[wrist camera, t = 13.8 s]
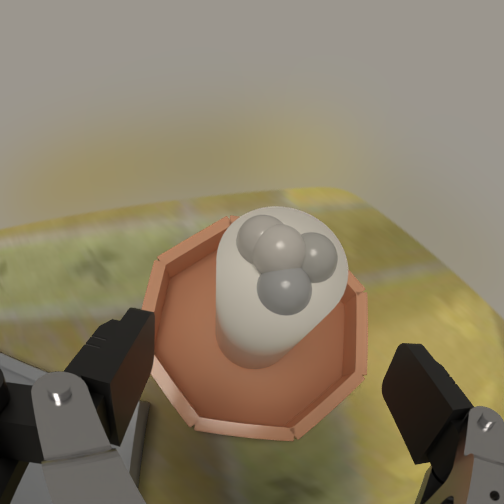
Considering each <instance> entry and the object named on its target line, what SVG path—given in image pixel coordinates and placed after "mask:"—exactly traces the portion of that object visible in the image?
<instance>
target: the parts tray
mask: <svg viewBox="0 0 504 504" xmlns="http://www.w3.org/2000/svg"><path fill="white" fill-rule="evenodd" d="M0 369H1V370H2V372H3V375H4V378H5V381H6V382H10V383H17V384H25V385H33V384H34V383H35V381H36V380H37V379H38V378H40V377H41V376H43V375H45V374H48V373H49V372H47V371H44V370H41V369H39V368H36V367H34V366H31V365H29V364H26V363H24V362H22V361H19V360H17V359H15V358H12V357H10V356H8V355H6V354H3V353H1V352H0ZM149 406H150V403H149V402H144V401H140V400H139V402H138V404H137V406H136V409H135V411H134V414H133V416H132V419H131V421H130V423H129V426H128V428H127V431H126V433H125V436H124V438H123V441H122V443H121V446H120V447H119V446H115V445H112V444H110V445H111V447H112V448H116V450H117V451H118V453H119V455H120V456H121V458H122V460H123V462H124V464H125V466H126V468H127V470H128V472H129V474H130V476H131V478H132V479H133V481H134V483H135V485H136V487H137V488H138V484H139V476H140V467H141V460H142V452H143V445H144V438H145V431H146V425H147V418H148V412H149ZM10 504H53V503H52V500H51V497H50V494H49V491H48V488H47V484H46V481H45V477H44V474H43V470H42V464H37V463H31V462H29V464H28V466H27V469H26V471H25V473H24V475H23V477H22V479H21V481H20V483H19V485H18V488H17V490H16V492H15V494H14V496H13V499H12V501H11V503H10Z"/></svg>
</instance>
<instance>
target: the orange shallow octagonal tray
mask: <svg viewBox="0 0 504 504" xmlns="http://www.w3.org/2000/svg"><path fill="white" fill-rule="evenodd" d="M238 218H239V217H238V216H231V215H230V219H229V218H228V217H227V216H226V217H224V218H222V219H221V220H219V221H217V222H215V223H214V224H212V225H210V226H208V227H207V228H205V229H203V230H202V231H200V232H198V233H196V234H195V235H193V236H191V237H190V238H188V239H186V240H184V241H183V242H181V243H179V244H178V245H176V246H174V247H173V248H171V249H169V250H168V251H166V252H164V253H163V254H161V255H159V256H158V257H157V258H158V261H157V260H154V264H153V268H152V271H151V275H150V279H149V282H148V286H147V290H146V294H145V298H144V302H143V306H142V310H146V311H151V312H154V314H155V346H154V362H153V367H152V371H151V375H152V376H153V378H154V379H155V380H156V382H157V383H158V385H159V386H160V388H161V389H162V391H163V392H164V393H165V395H166V396H167V398H168V399H169V400H170V402H171V403H172V405H173V406H174V407H175V409H176V410H177V411H178V413H179V414H180V415H181V417H182V418H183V419H184V421H185V422H186V423H187V425H188V426H189V427H191V426H193V425H194V424H195V428H194V430H196V431H202V432H208V433H215V434H222V435H229V436H237V437H246V438H256V439H267V440H281V441H294V439H297V440H298V439H300V438H301V437H302V436H303V435H304V434H306V433H307V432H308V431H309V430H310V429H311V428H313V427H314V426H315V425H316V424H317V423H318V422H320V421H321V420H322V419H323V418H324V417H325V416H326V415H328V414H329V413H330V412H331V411H332V410H333V409H334V408H335V407H336V406H337V405H338V404H340V403H341V402H342V401H343V400H344V399H345V398H346V397H347V396H348V395H349V394H350V393H351V392H352V391H353V390H354V389H355V388H356V387H357V386H358V385H359V384H360V383H361V382H362V381H363V380H364V379H365V378H364V377H363V376H364V375H367V350H368V308H367V293H365V292H363V291H364V290H365V288H364V287H363V285H362V284H361V283H360V282H359V281H358V280H357V279H356V278H355V276H354V275H353V274H352V273H351V272H350V271H349V270H348V281H347V285H346V289H345V292H344V294H343V296H342V298H341V300H340V301H339V303H338V304H337V305H336V306H335V308H334V309H333V310H332V311H331V312H330V313H329V314H328V315H327V316H326V317H325V318H324V319H323V320H322V321H321V322H320V323H319V324H318V325H316V326H315V327H314V328H313V329H312V330H311V331H310V332H309V333H308V334H307V335H306V336H305V337H304V338H303V339H302V340H301V341H300V342H299V343H298V344H296V345H295V346H294V347H293V348H292V349H291V350H290V351H289V352H288V353H287V354H286V355H285V356H283V357H282V358H281V359H280V360H279V361H278V362H276V363H275V364H273V365H271V366H269V367H266V368H261V369H248V368H243V367H241V366H238V365H236V364H234V363H233V362H231V361H230V360H229V359H228V358H227V357H226V356H225V355H224V354H223V353H222V351H221V350H220V348H219V346H218V343H217V340H216V257H217V250H218V246H219V243H220V240H221V238H222V236H223V234H224V233H225V231H226V230H227V228H228V227H229V226H230V225H231V224H232V223H233V222H234V221H235V220H237V219H238Z"/></svg>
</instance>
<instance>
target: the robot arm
mask: <svg viewBox="0 0 504 504" xmlns="http://www.w3.org/2000/svg"><path fill="white" fill-rule="evenodd" d="M154 346H155V314H154V312H151V311H146V310H141V309H136V308H129V310H128V311H127V312H126V314H125V315H124V316H123V318H122V319H121V320H120V321H118V320H113V319H112V320H110V321H108V322H106V323H104V324H102V325H101V326H99V327H98V329H97V330H96V331H95V332H94V334H93V335H92V337H90V339H89V340H88V341H87V342H86V345H84V346H83V347H82V349H81V350H80V351H79V352H78V354H77V355H76V356H75V357H74V359H73V360H72V361H71V363H70V364H69V365H68V366H67V368H66V369H65V370H64V372H51V373H48V374H45V375H43V376H41V377H40V378H38V379H37V380H36V381H35V383H34V384H33V385H25V384H17V383H10V382H6V381H5V378H4V375H3V372H2V370H1V369H0V504H10V503H11V501H12V499H13V496H14V494H15V492H16V490H17V488H18V485H19V483H20V481H21V479H22V477H23V475H24V473H25V471H26V469H27V466H28V464H29V462H31V463H37V464H42V470H43V474H44V477H45V481H46V484H47V488H48V491H49V494H50V497H51V500H52V503H53V504H146V502H145V501H144V499H143V497H142V495H141V494H140V492H139V490H138V488H137V487H136V485H135V483H134V481H133V479H132V478H131V476H130V474H129V472H128V470H127V468H126V466H125V464H124V462H123V460H122V458H121V456H120V455H119V453H118V451H117V450H116V448H112V447H111V445H110V444H112V445H115V446H119V447H120V446H121V443H122V441H123V438H124V436H125V433H126V431H127V428H128V426H129V423H130V421H131V419H132V416H133V414H134V411H135V409H136V406H137V404H138V402H139V399H140V397H141V394H142V392H143V390H144V387H145V385H146V383H147V380H148V378H149V376H150V373H151V371H152V367H153V362H154ZM382 395H383V398H384V400H385V402H386V404H387V406H388V408H389V410H390V412H391V414H392V416H393V418H394V420H395V422H396V425H397V427H398V429H399V431H400V433H401V435H402V437H403V439H404V442H405V444H406V446H407V448H408V450H409V452H410V455H411V457H412V459H413V461H414V463H415V465H416V464H422V463H427V462H430V463H431V466H430V467H429V468H428V470H427V471H426V473H425V476H424V479H423V482H422V485H421V488H420V490H419V493H418V496H417V498H416V501H415V504H504V421H503V419H502V418H501V416H500V415H499V414H498V413H496V412H495V411H494V410H492V409H490V408H487V407H483V406H477V407H474V406H473V405H472V404H471V402H470V401H469V400H468V398H467V397H466V396H465V394H464V393H463V392H462V390H461V389H460V388H459V387H458V385H457V384H455V381H454V380H453V379H452V377H449V374H448V372H447V371H446V370H445V369H444V367H443V366H442V365H440V364H439V363H438V362H436V361H435V360H434V358H433V357H432V356H431V355H430V353H429V352H428V351H427V350H426V348H425V347H424V346H423V345H422V344H409V343H402V344H400V345H399V346H398V348H397V350H396V352H395V354H394V357H393V359H392V362H391V364H390V366H389V368H388V371H387V373H386V375H385V377H384V380H383V383H382Z"/></svg>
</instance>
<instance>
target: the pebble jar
mask: <svg viewBox="0 0 504 504" xmlns="http://www.w3.org/2000/svg"><path fill="white" fill-rule="evenodd" d="M347 281H348V263H347V259H346V255H345V252H344V249H343V247H342V245H341V243H340V242H339V240H338V239H337V237H336V236H335V235H334V233H333V232H332V231H331V230H330V229H329V228H328V227H327V226H326V225H325V224H324V223H322V222H321V221H320V220H318V219H317V218H315V217H314V216H312V215H310V214H308V213H306V212H303V211H300V210H297V209H293V208H288V207H278V206H273V207H264V208H259V209H256V210H253V211H250V212H248V213H246V214H244V215H242V216H241V217H239V218H238V219H237V220H235V221H234V222H233V223H232V224H231V225H230V226H229V227H228V228H227V230H226V231H225V233H224V234H223V236H222V238H221V240H220V243H219V246H218V250H217V257H216V340H217V343H218V346H219V348H220V350H221V351H222V353H223V354H224V355H225V356H226V357H227V358H228V359H229V360H230V361H231V362H233V363H234V364H236V365H238V366H241V367H243V368H248V369H261V368H266V367H269V366H271V365H273V364H275V363H276V362H278V361H279V360H280V359H281V358H282V357H283V356H285V355H286V354H287V353H288V352H289V351H290V350H291V349H292V348H293V347H294V346H295V345H296V344H298V343H299V342H300V341H301V340H302V339H303V338H304V337H305V336H306V335H307V334H308V333H309V332H310V331H311V330H312V329H313V328H314V327H315V326H316V325H318V324H319V323H320V322H321V321H322V320H323V319H324V318H325V317H326V316H327V315H328V314H329V313H330V312H331V311H332V310H333V309H334V308H335V306H336V305H337V304H338V303H339V301H340V300H341V298H342V296H343V294H344V292H345V289H346V285H347Z"/></svg>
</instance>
